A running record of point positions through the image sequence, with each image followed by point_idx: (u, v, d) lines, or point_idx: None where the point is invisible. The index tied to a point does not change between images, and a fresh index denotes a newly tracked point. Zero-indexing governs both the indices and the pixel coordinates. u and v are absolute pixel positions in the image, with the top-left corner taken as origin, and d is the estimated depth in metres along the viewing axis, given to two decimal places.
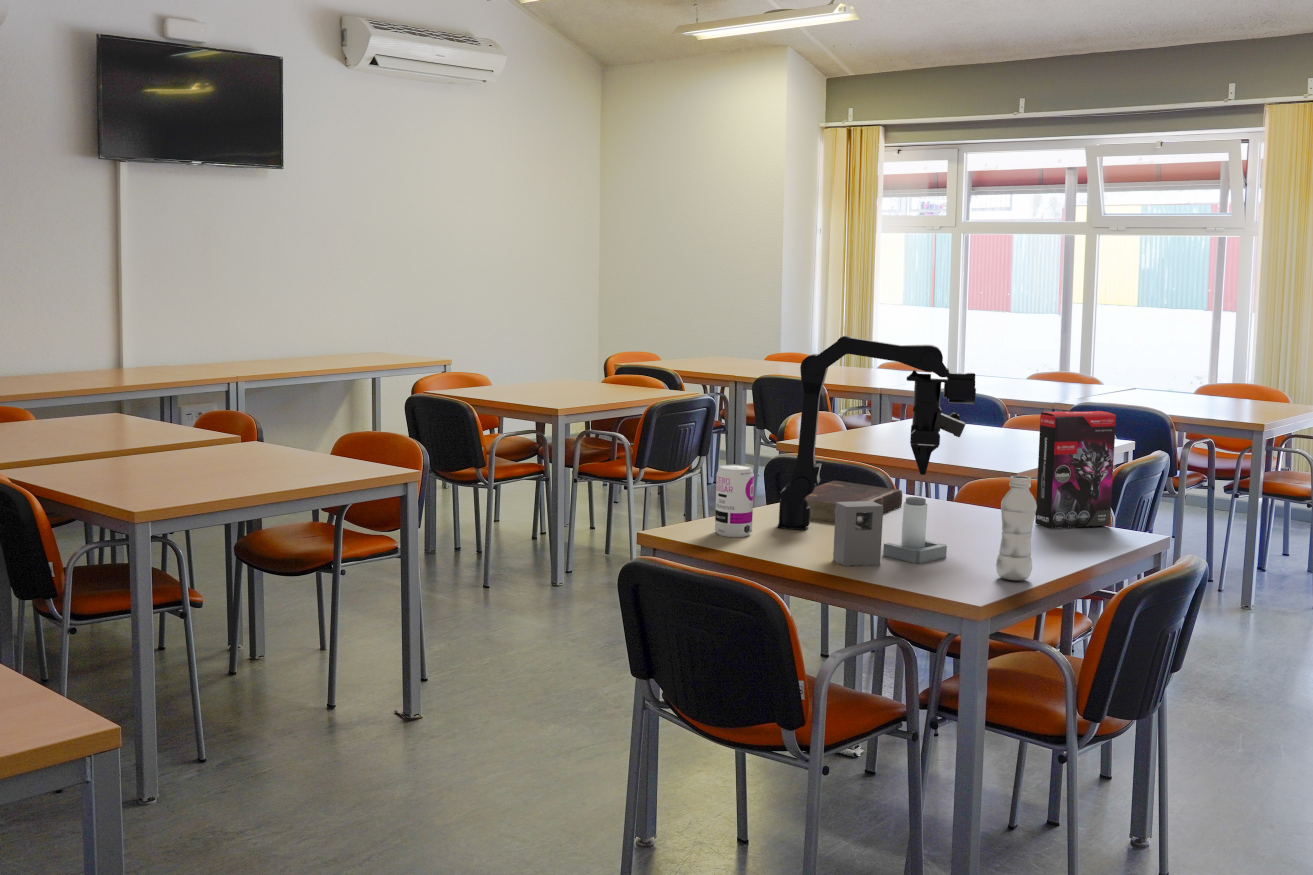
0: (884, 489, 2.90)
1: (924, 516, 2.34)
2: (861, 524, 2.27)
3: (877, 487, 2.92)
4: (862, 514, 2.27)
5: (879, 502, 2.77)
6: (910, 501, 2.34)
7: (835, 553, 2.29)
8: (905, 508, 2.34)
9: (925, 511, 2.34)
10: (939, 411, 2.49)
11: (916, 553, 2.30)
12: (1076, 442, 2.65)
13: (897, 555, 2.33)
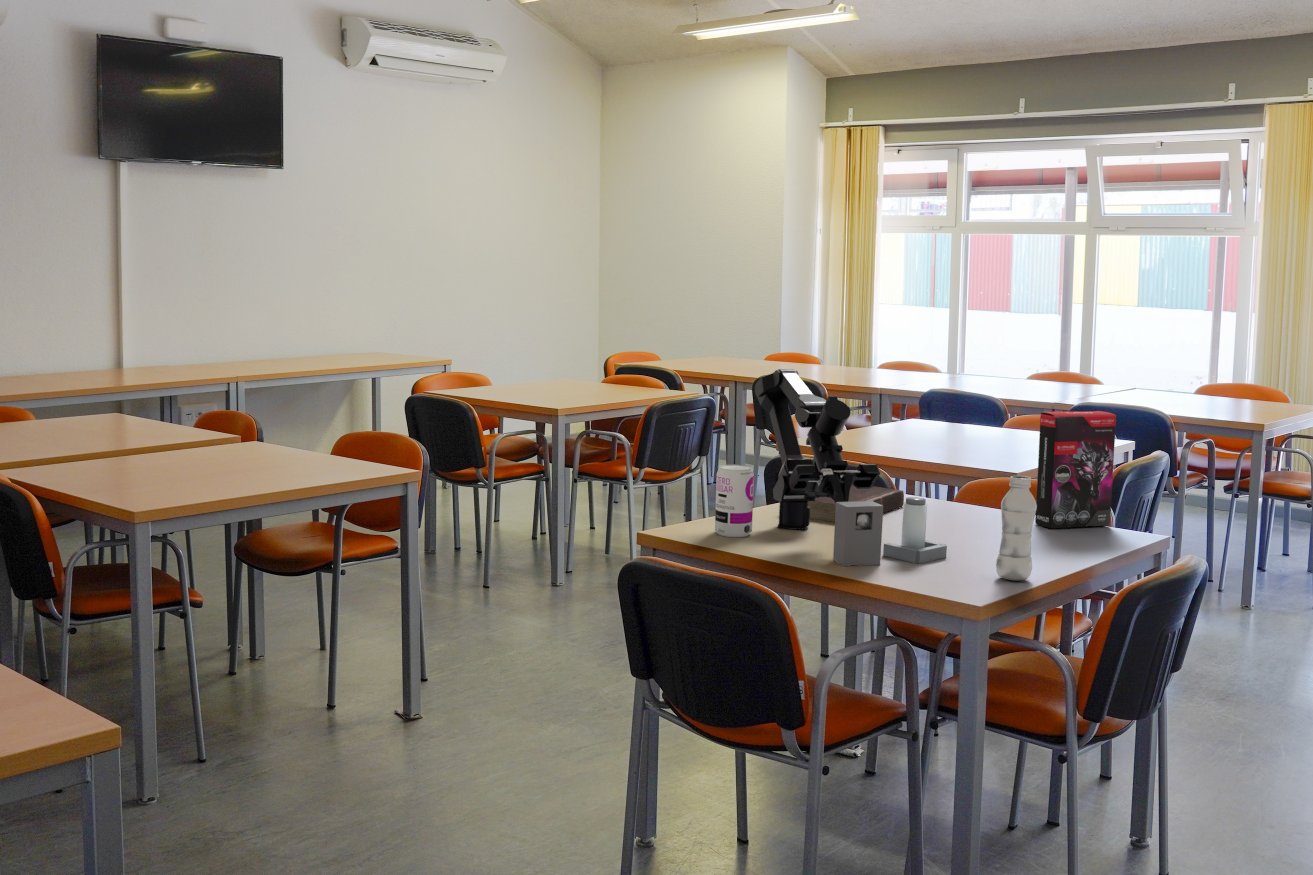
0: (885, 489, 2.89)
1: (924, 516, 2.34)
2: (864, 525, 2.26)
3: (879, 487, 2.92)
4: (865, 515, 2.26)
5: (878, 502, 2.76)
6: (910, 501, 2.34)
7: (835, 553, 2.29)
8: (905, 508, 2.34)
9: (925, 511, 2.34)
10: None
11: (916, 553, 2.30)
12: (1076, 442, 2.65)
13: (897, 555, 2.33)
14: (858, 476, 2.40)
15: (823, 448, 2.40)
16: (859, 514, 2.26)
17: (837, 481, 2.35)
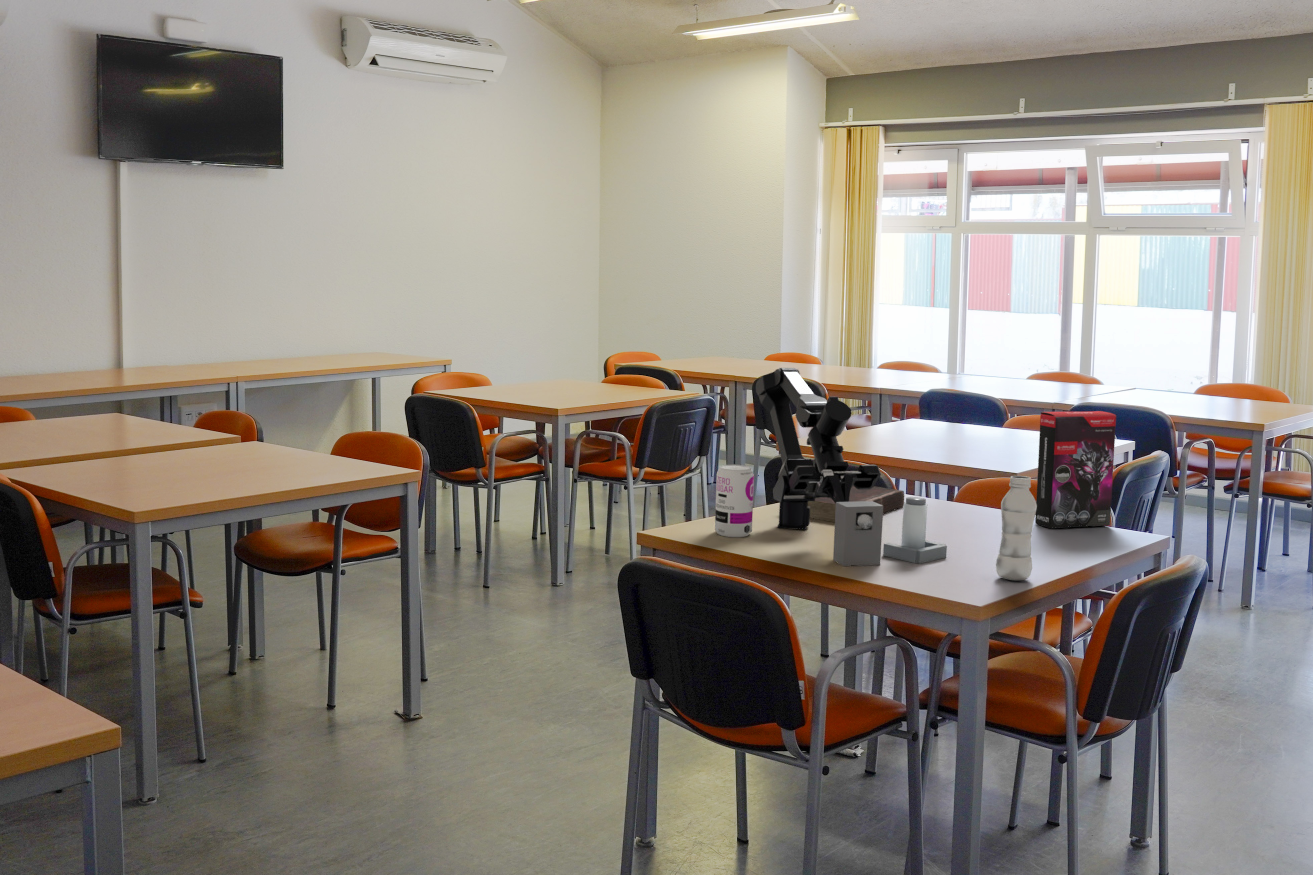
0: (886, 489, 2.89)
1: (924, 516, 2.34)
2: (866, 527, 2.25)
3: (879, 487, 2.92)
4: (868, 517, 2.25)
5: (878, 502, 2.76)
6: (910, 501, 2.34)
7: (835, 553, 2.29)
8: (905, 508, 2.34)
9: (925, 511, 2.34)
10: None
11: (916, 553, 2.30)
12: (1077, 442, 2.65)
13: (897, 555, 2.33)
14: (858, 477, 2.40)
15: (824, 449, 2.39)
16: (862, 515, 2.25)
17: (837, 482, 2.35)
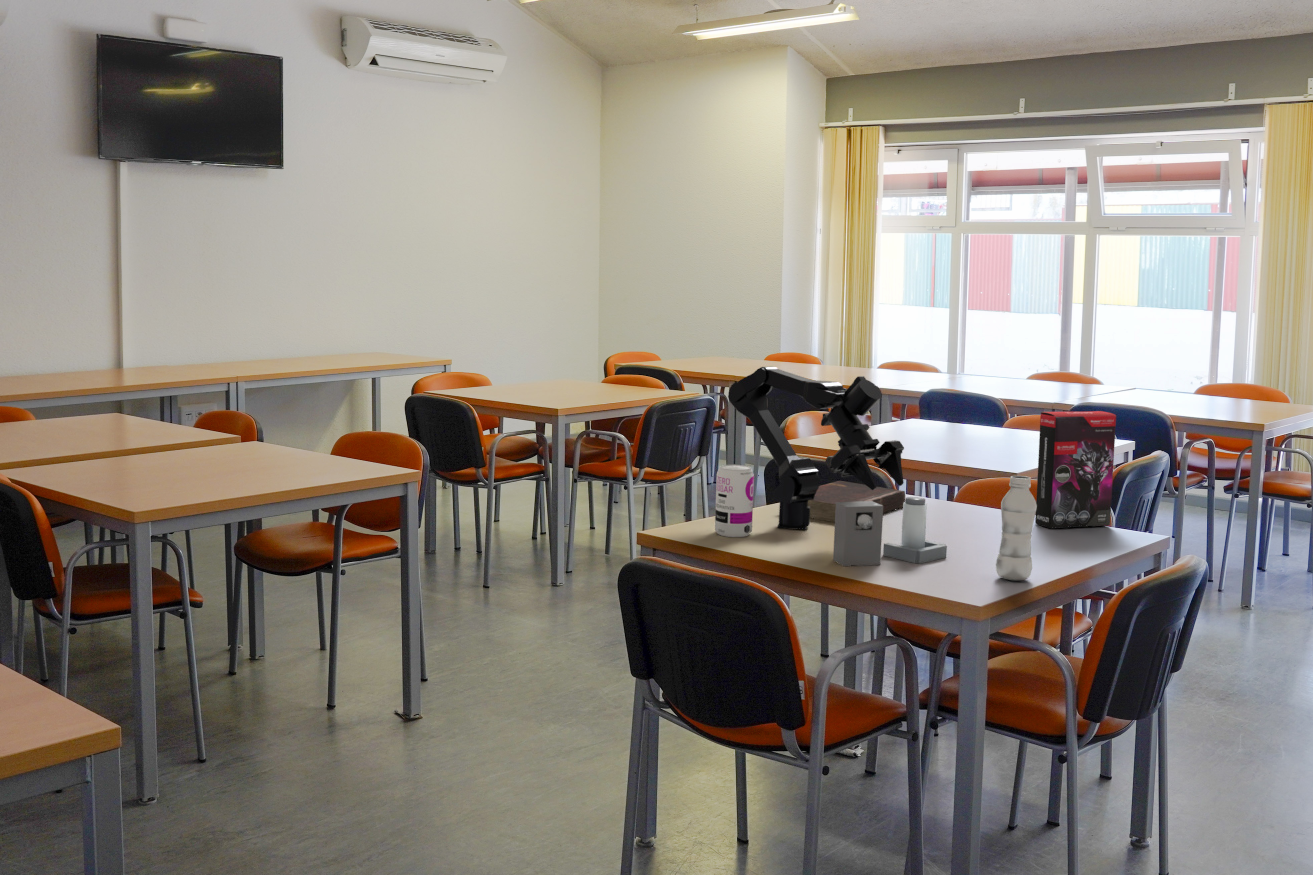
0: (887, 490, 2.89)
1: (924, 516, 2.34)
2: (866, 527, 2.25)
3: (880, 488, 2.91)
4: (868, 517, 2.25)
5: (877, 502, 2.76)
6: (910, 501, 2.34)
7: (835, 553, 2.29)
8: (905, 508, 2.35)
9: (925, 511, 2.34)
10: None
11: (916, 553, 2.30)
12: (1077, 442, 2.65)
13: (897, 555, 2.33)
14: (884, 453, 2.47)
15: (856, 428, 2.43)
16: (862, 515, 2.25)
17: (865, 461, 2.38)
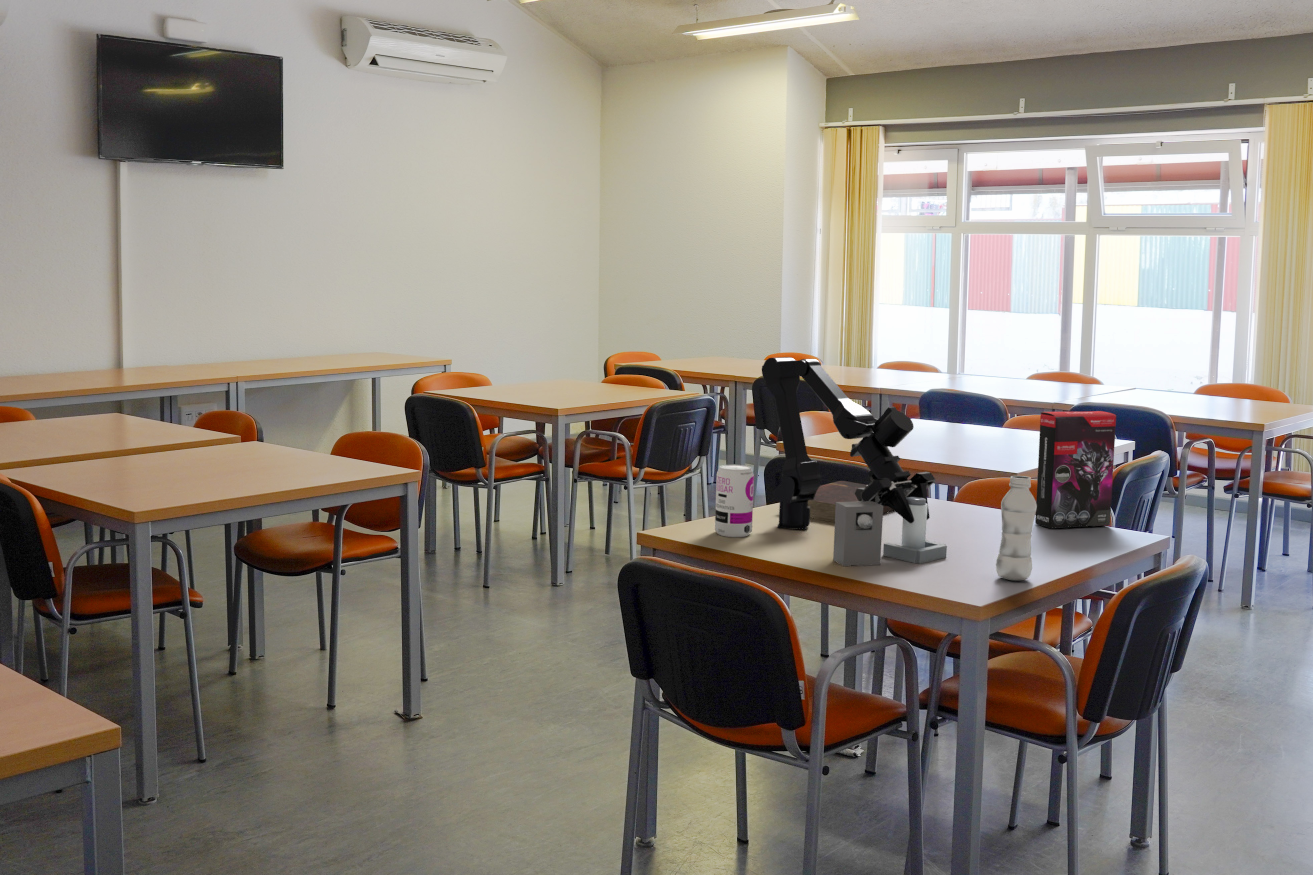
0: None
1: (924, 516, 2.34)
2: (866, 527, 2.25)
3: None
4: (868, 517, 2.25)
5: None
6: (910, 501, 2.34)
7: (835, 553, 2.29)
8: None
9: (925, 511, 2.34)
10: None
11: (916, 553, 2.30)
12: (1077, 442, 2.65)
13: (897, 555, 2.33)
14: None
15: (886, 460, 2.38)
16: (862, 515, 2.25)
17: (903, 494, 2.33)
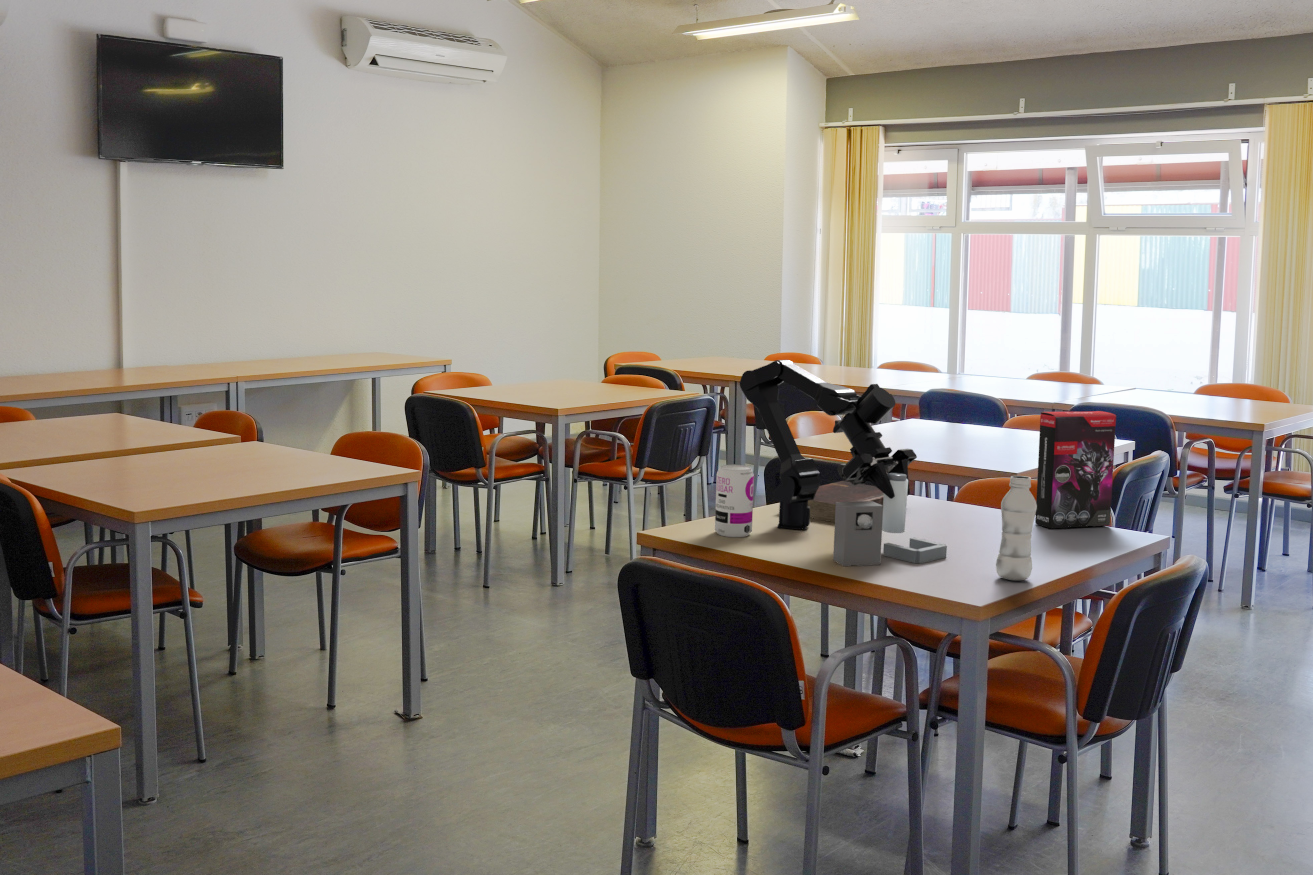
0: None
1: (905, 492, 2.37)
2: (866, 527, 2.25)
3: None
4: (868, 517, 2.25)
5: (876, 502, 2.76)
6: (891, 477, 2.37)
7: (835, 553, 2.29)
8: None
9: (906, 487, 2.37)
10: None
11: (916, 553, 2.30)
12: (1076, 442, 2.65)
13: (897, 555, 2.33)
14: None
15: (868, 436, 2.41)
16: (862, 515, 2.25)
17: (884, 469, 2.36)
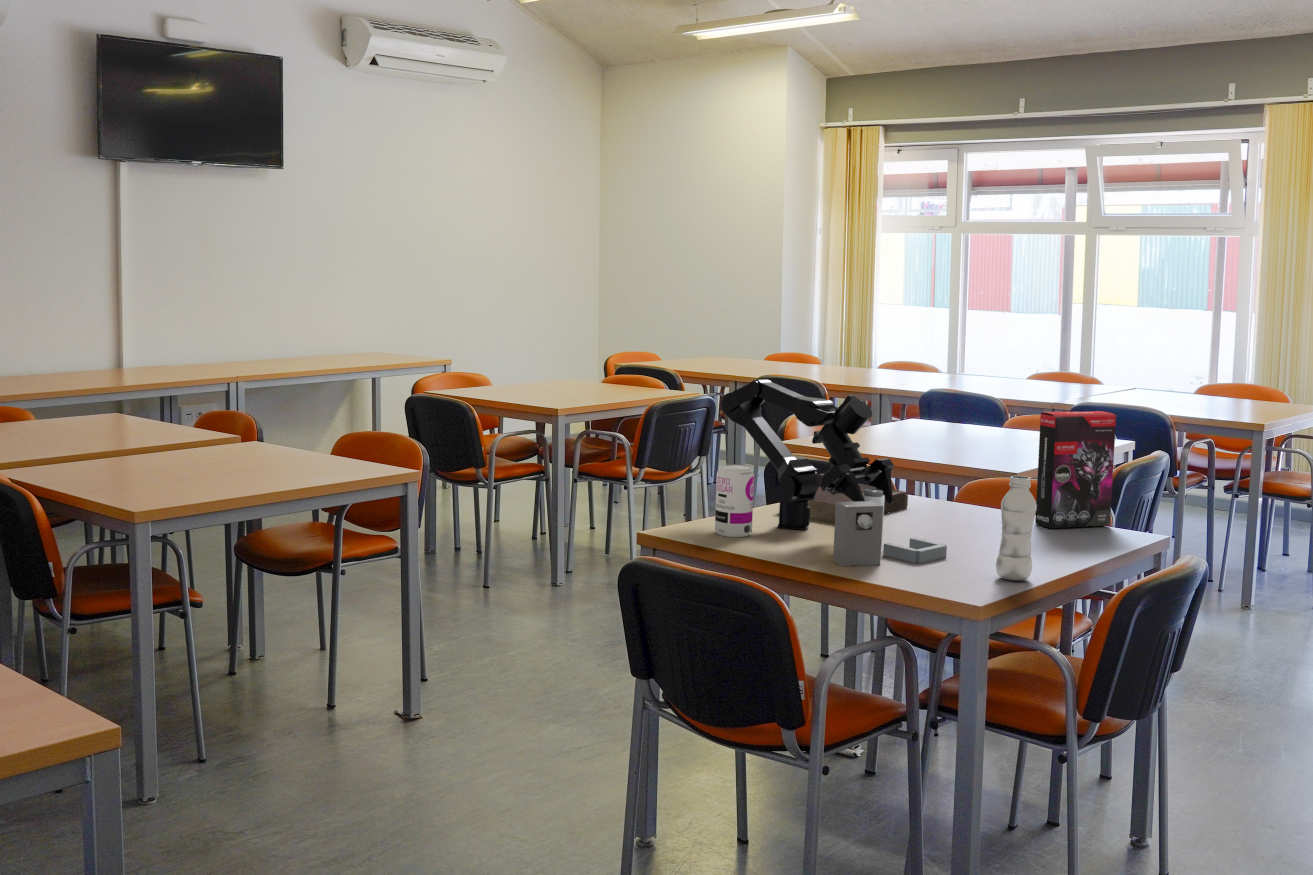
0: None
1: None
2: (866, 527, 2.25)
3: None
4: (868, 517, 2.25)
5: None
6: (868, 493, 2.42)
7: (835, 553, 2.29)
8: None
9: (882, 502, 2.42)
10: None
11: (916, 553, 2.30)
12: (1077, 442, 2.65)
13: (897, 555, 2.33)
14: (875, 471, 2.49)
15: (846, 446, 2.46)
16: (862, 515, 2.25)
17: (855, 480, 2.40)
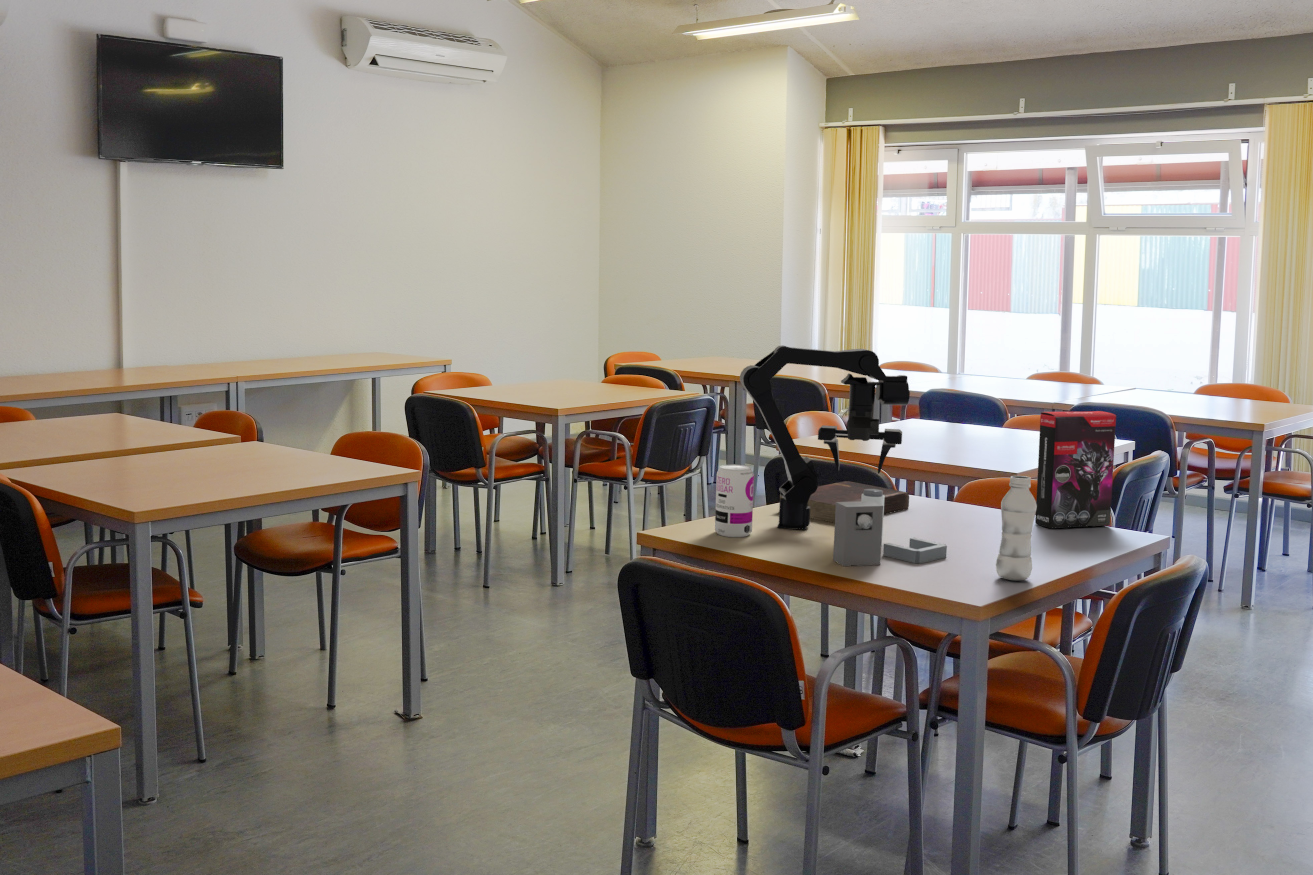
0: (890, 491, 2.88)
1: None
2: (866, 527, 2.25)
3: (885, 489, 2.90)
4: (868, 517, 2.25)
5: None
6: (867, 493, 2.42)
7: (835, 553, 2.29)
8: (863, 499, 2.43)
9: (882, 502, 2.42)
10: (849, 412, 2.57)
11: (916, 553, 2.30)
12: (1077, 442, 2.65)
13: (897, 555, 2.33)
14: None
15: None
16: (862, 515, 2.25)
17: None
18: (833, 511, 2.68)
